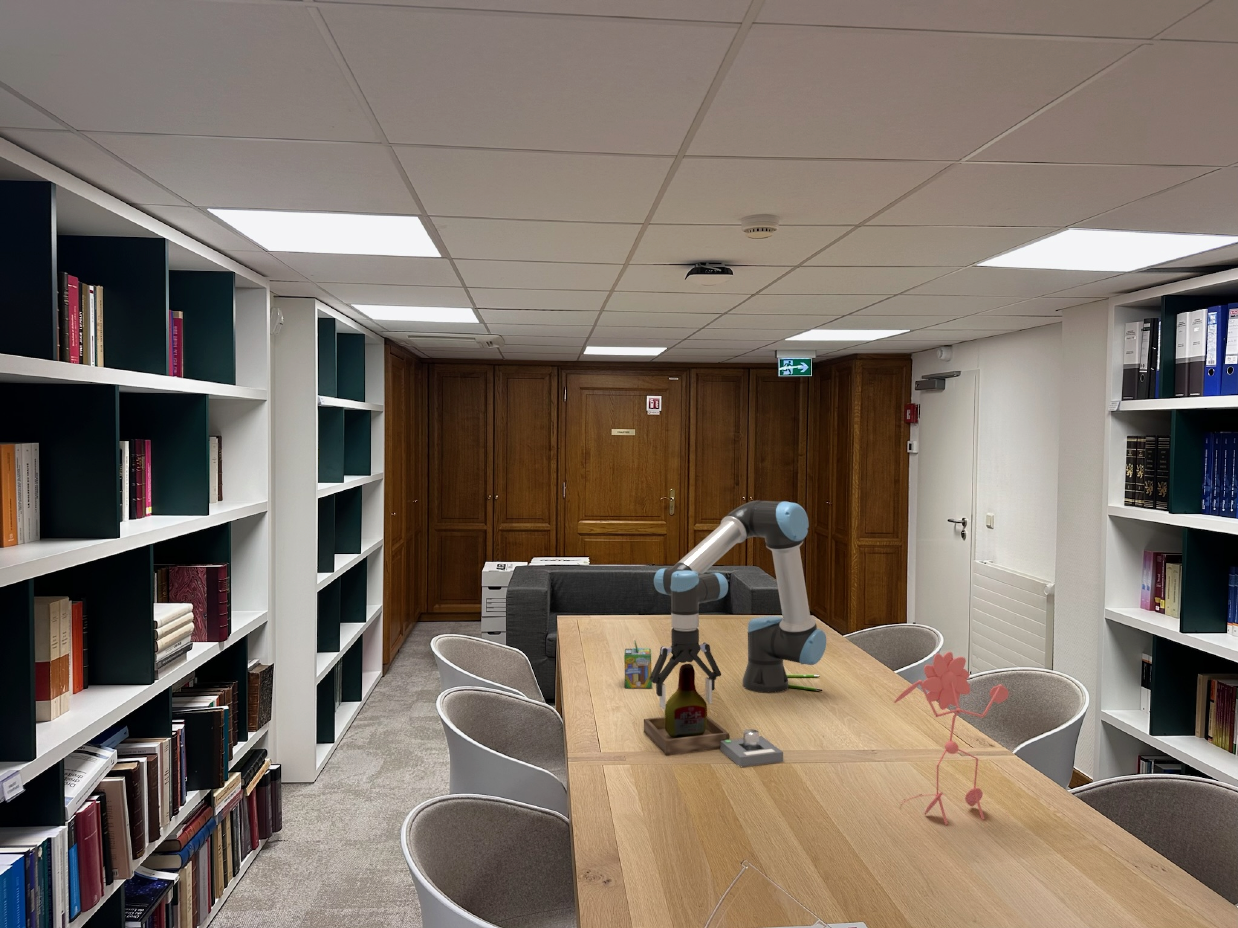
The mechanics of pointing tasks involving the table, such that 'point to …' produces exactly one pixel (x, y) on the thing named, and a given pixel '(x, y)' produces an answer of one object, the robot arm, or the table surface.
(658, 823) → the table surface
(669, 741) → the tray
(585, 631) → the table surface
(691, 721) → the bottle
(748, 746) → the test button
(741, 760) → the grey flat square piece
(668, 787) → the table surface
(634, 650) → the chalk box
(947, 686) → the figurine
